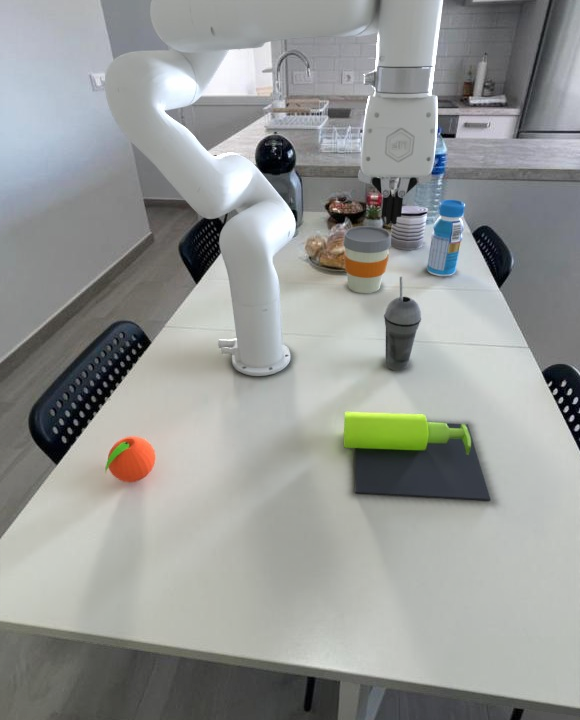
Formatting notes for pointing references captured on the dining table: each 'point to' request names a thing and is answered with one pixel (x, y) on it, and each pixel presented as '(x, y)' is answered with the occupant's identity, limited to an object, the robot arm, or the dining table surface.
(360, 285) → the reusable coffee cup
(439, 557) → the dining table surface
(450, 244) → the beverage bottle
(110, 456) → the clementine
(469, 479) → the placemat
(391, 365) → the beverage cup
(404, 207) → the white striped cylinder
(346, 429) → the soap dispenser
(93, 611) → the dining table surface
